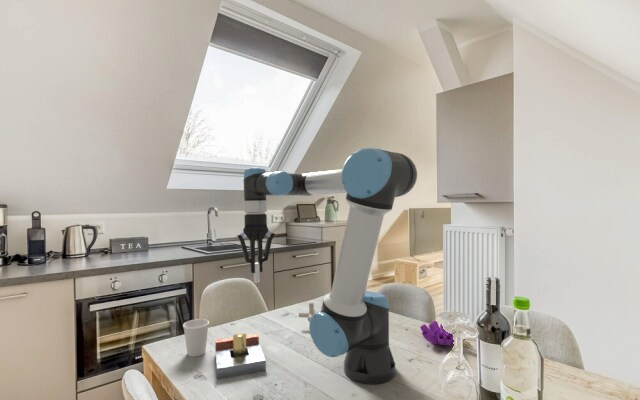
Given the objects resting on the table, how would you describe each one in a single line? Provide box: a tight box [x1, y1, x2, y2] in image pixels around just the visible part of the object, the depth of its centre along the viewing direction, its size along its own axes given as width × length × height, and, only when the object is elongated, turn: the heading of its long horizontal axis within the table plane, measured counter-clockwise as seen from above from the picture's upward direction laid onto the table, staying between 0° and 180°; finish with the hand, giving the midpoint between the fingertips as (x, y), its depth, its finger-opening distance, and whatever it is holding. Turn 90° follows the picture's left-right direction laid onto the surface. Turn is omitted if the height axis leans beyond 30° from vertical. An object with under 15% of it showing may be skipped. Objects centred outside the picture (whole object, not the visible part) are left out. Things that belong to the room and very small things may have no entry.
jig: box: [214, 333, 267, 380], centre depth 105 cm, size 16×14×5 cm
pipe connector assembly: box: [419, 320, 466, 346], centre depth 117 cm, size 11×15×10 cm
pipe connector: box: [298, 301, 316, 323], centre depth 133 cm, size 10×10×10 cm
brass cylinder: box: [232, 332, 247, 358], centre depth 105 cm, size 4×4×8 cm
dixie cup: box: [182, 318, 210, 357], centre depth 112 cm, size 8×8×10 cm
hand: (256, 282), depth 114 cm, fingers closed
